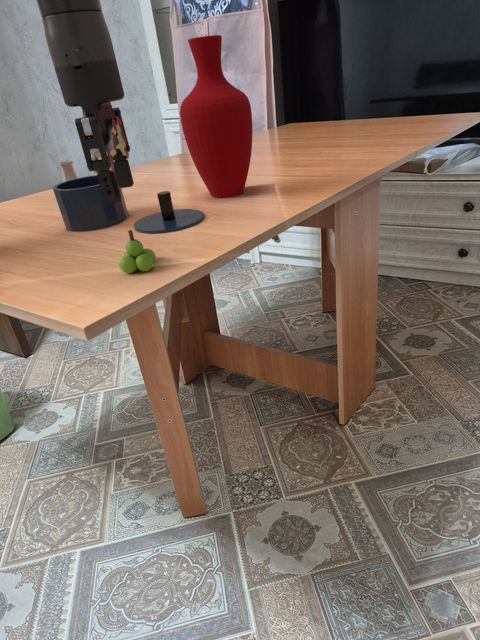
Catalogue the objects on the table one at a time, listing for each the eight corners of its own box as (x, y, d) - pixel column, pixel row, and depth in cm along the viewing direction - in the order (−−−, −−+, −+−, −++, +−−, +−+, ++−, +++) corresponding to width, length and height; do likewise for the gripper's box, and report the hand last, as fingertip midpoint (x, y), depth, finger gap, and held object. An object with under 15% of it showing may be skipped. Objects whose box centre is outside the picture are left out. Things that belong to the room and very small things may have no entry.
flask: (91, 199, 118) (79, 157, 113) (95, 204, 112) (82, 160, 107) (62, 205, 116) (48, 162, 110) (64, 211, 110) (50, 166, 105)
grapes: (120, 276, 70) (109, 237, 67) (127, 264, 74) (116, 226, 71) (153, 272, 70) (143, 233, 66) (158, 260, 74) (149, 222, 71)
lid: (128, 240, 85) (119, 206, 82) (141, 219, 96) (134, 188, 93) (202, 231, 85) (196, 197, 81) (207, 211, 96) (201, 180, 93)
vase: (209, 189, 113) (185, 41, 97) (268, 186, 108) (252, 31, 93) (184, 207, 101) (152, 42, 85) (249, 204, 97) (227, 30, 81)
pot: (58, 237, 91) (43, 193, 87) (77, 219, 102) (64, 179, 98) (121, 229, 91) (109, 185, 87) (133, 212, 102) (123, 171, 97)
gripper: (72, 64, 64) (106, 186, 72) (33, 64, 52) (80, 210, 60) (126, 56, 64) (154, 179, 72) (100, 55, 51) (137, 203, 60)
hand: (120, 193), depth 66 cm, fingers open, 8 cm apart
